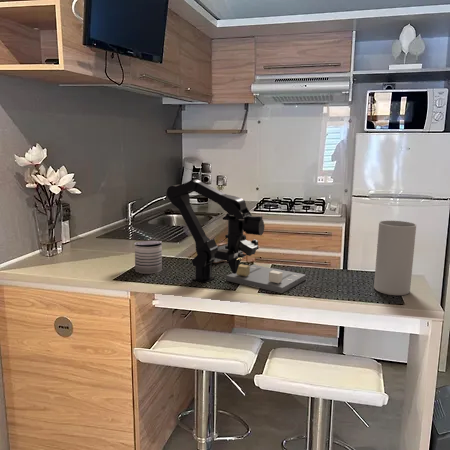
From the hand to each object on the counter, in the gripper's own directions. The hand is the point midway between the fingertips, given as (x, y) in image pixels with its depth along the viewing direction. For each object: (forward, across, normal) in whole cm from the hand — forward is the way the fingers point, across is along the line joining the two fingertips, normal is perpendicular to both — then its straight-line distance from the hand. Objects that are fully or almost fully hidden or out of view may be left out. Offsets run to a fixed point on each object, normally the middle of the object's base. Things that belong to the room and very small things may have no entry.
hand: (234, 273), depth 173 cm
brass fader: (+2, +6, 0) cm, 6 cm away
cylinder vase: (+4, +29, -50) cm, 58 cm away
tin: (+5, +24, +23) cm, 34 cm away
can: (+5, -5, +39) cm, 40 cm away
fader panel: (+4, +12, -7) cm, 15 cm away
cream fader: (+2, +6, -14) cm, 15 cm away
